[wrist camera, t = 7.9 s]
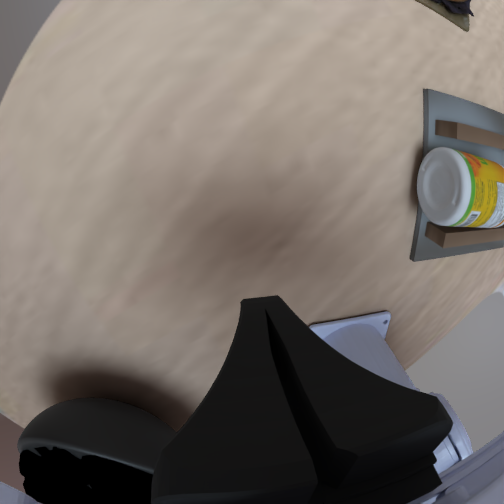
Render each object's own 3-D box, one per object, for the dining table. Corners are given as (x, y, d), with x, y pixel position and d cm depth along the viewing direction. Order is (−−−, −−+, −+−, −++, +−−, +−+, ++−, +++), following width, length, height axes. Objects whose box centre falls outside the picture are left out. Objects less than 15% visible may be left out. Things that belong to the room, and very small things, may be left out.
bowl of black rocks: (19, 343, 22) (-47, 490, 5) (204, 362, 24) (216, 578, 7) (79, 440, 30) (60, 546, 13) (212, 455, 32) (222, 574, 16)
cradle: (500, 245, 23) (518, 256, 21) (409, 258, 22) (430, 276, 19) (516, 120, 17) (537, 125, 15) (423, 89, 16) (450, 88, 13)
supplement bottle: (417, 143, 18) (489, 162, 19) (410, 214, 20) (482, 218, 21) (469, 149, 13) (533, 173, 14) (457, 236, 15) (523, 237, 16)
